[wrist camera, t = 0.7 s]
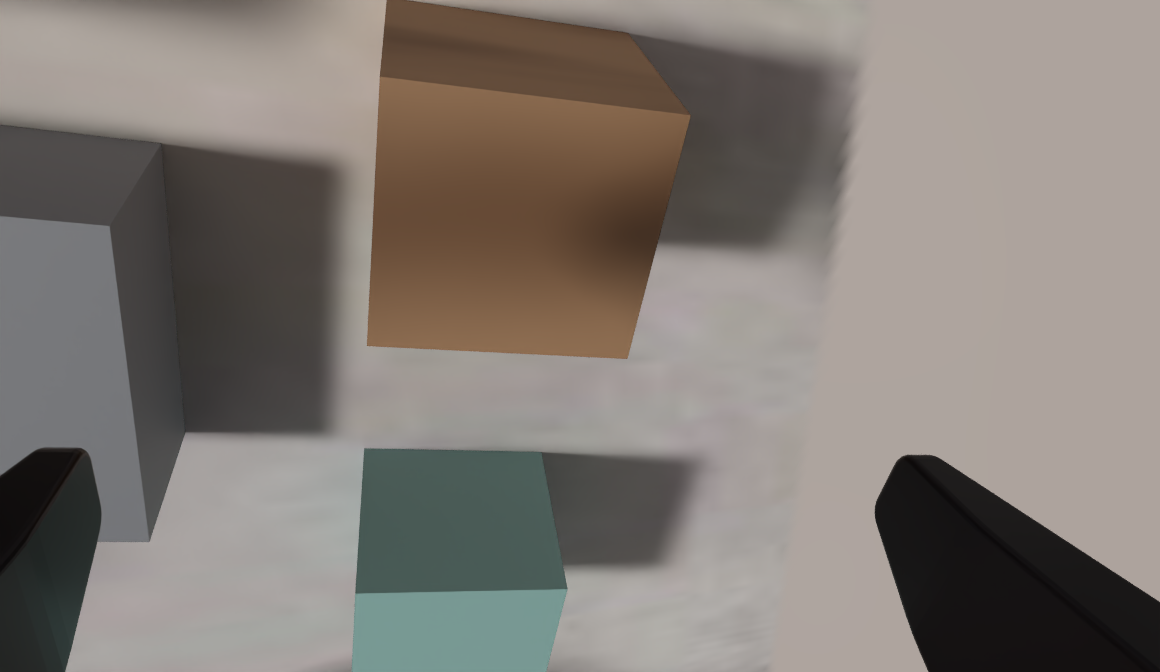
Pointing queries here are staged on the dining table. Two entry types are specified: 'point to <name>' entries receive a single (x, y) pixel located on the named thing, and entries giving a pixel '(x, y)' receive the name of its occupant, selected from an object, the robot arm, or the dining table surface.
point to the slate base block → (90, 316)
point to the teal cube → (456, 563)
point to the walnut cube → (516, 183)
